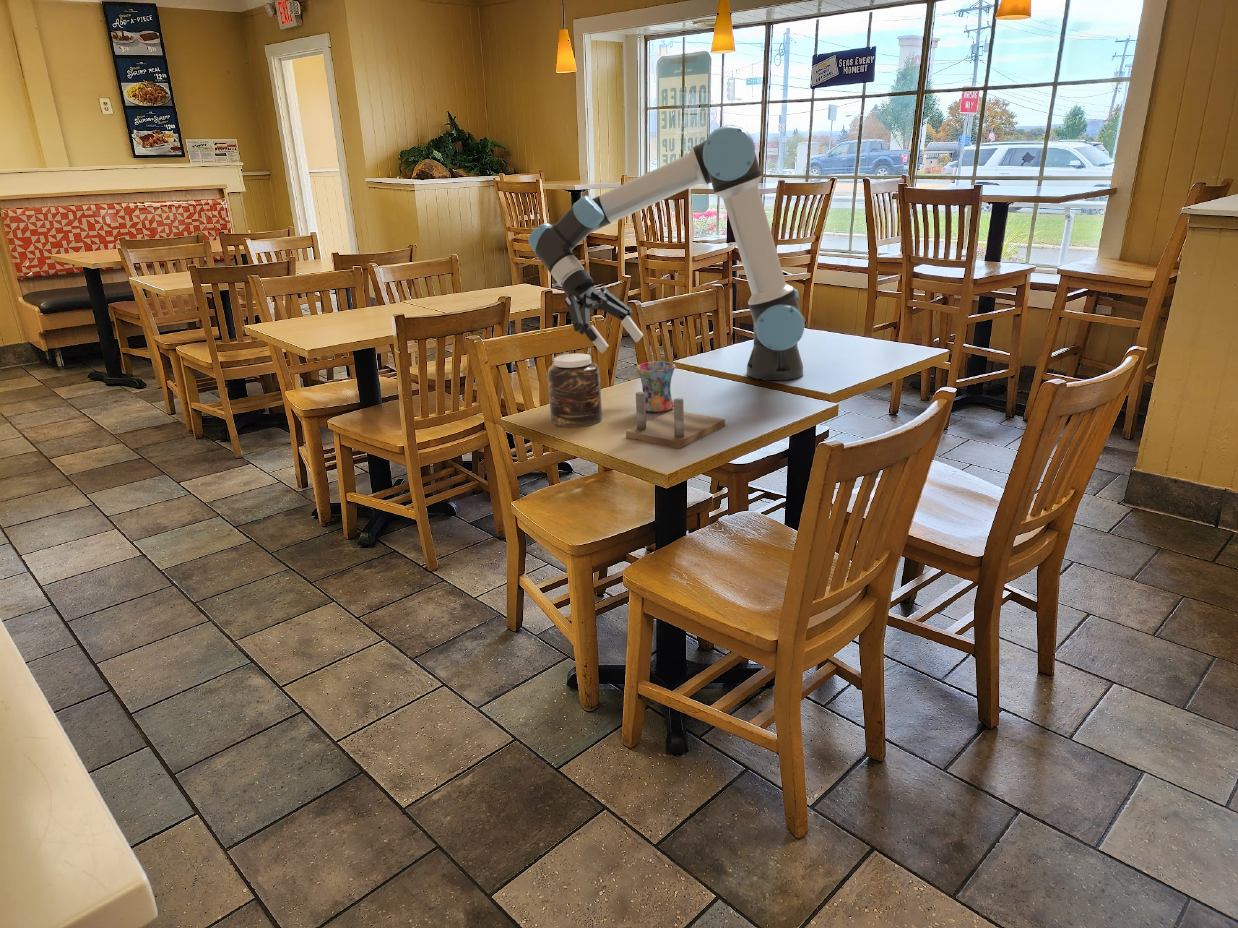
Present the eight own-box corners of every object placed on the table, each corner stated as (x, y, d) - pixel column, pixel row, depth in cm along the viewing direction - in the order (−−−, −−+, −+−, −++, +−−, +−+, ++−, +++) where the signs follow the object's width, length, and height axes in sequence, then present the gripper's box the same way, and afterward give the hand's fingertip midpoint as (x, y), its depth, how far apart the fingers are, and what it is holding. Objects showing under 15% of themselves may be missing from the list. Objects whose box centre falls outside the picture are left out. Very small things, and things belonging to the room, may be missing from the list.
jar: (583, 409, 198) (579, 349, 192) (611, 419, 189) (608, 357, 184) (542, 420, 191) (537, 357, 186) (569, 431, 182) (564, 366, 177)
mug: (665, 416, 189) (664, 372, 186) (631, 412, 194) (629, 369, 190) (687, 402, 199) (686, 360, 195) (653, 399, 204) (652, 357, 200)
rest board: (673, 415, 189) (672, 376, 186) (725, 425, 181) (725, 384, 178) (626, 437, 176) (624, 395, 173) (679, 448, 168) (678, 404, 165)
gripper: (597, 281, 213) (645, 343, 209) (531, 296, 195) (581, 364, 191) (612, 262, 208) (661, 325, 204) (545, 275, 190) (597, 344, 186)
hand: (622, 344), depth 198 cm, fingers open, 13 cm apart
